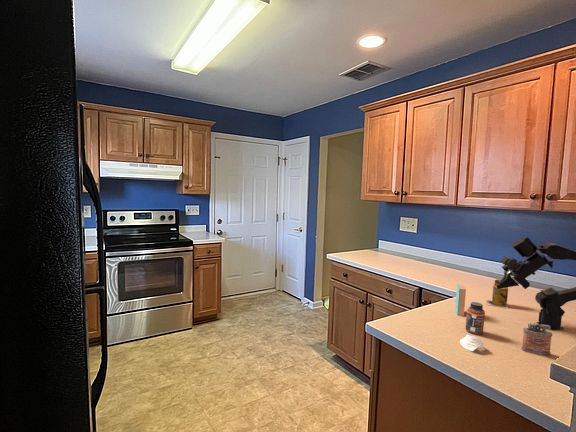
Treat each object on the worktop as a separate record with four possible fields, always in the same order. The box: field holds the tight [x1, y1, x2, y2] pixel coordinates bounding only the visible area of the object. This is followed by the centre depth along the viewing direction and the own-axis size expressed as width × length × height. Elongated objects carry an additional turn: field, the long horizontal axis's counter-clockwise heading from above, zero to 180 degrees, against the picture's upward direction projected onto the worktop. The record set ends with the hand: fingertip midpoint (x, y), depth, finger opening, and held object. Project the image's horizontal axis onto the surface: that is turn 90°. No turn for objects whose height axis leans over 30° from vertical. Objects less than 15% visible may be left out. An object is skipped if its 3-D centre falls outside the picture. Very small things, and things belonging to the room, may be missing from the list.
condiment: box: [486, 279, 509, 309], centre depth 154 cm, size 7×8×12 cm
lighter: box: [520, 322, 553, 357], centre depth 108 cm, size 8×3×10 cm, turn 69°
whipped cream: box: [459, 333, 486, 352], centre depth 111 cm, size 8×7×5 cm
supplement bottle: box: [465, 301, 486, 335], centre depth 123 cm, size 6×6×11 cm
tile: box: [454, 283, 467, 317], centre depth 141 cm, size 2×7×12 cm, turn 159°
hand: (497, 287), depth 136 cm, fingers closed
